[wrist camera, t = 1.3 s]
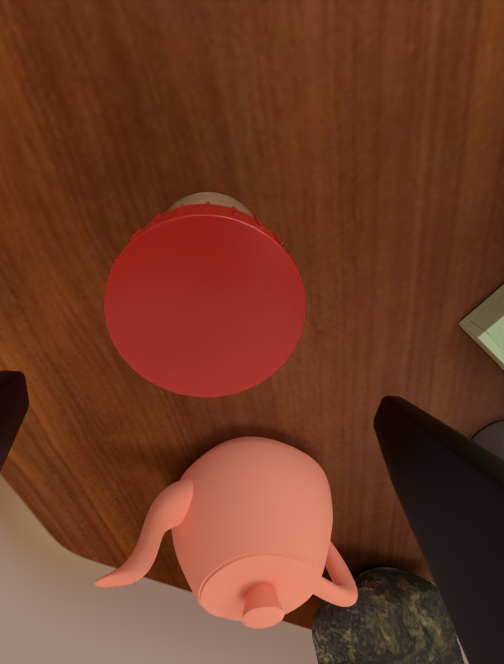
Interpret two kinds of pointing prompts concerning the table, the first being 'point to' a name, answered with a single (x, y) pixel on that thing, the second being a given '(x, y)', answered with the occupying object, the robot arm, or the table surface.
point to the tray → (488, 326)
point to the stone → (387, 623)
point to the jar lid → (205, 301)
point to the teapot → (247, 533)
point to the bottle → (492, 438)
